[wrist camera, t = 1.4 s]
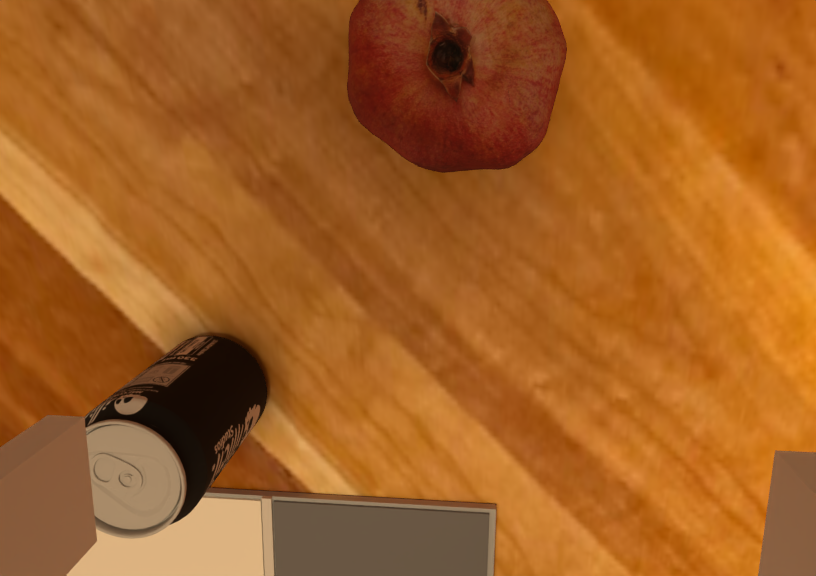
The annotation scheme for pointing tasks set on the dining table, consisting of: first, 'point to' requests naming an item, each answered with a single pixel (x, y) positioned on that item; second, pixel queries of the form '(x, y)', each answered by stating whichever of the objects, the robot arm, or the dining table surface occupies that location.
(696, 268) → the dining table surface
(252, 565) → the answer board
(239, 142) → the dining table surface
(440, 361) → the dining table surface
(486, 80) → the fruit
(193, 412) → the beverage can
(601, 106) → the dining table surface
